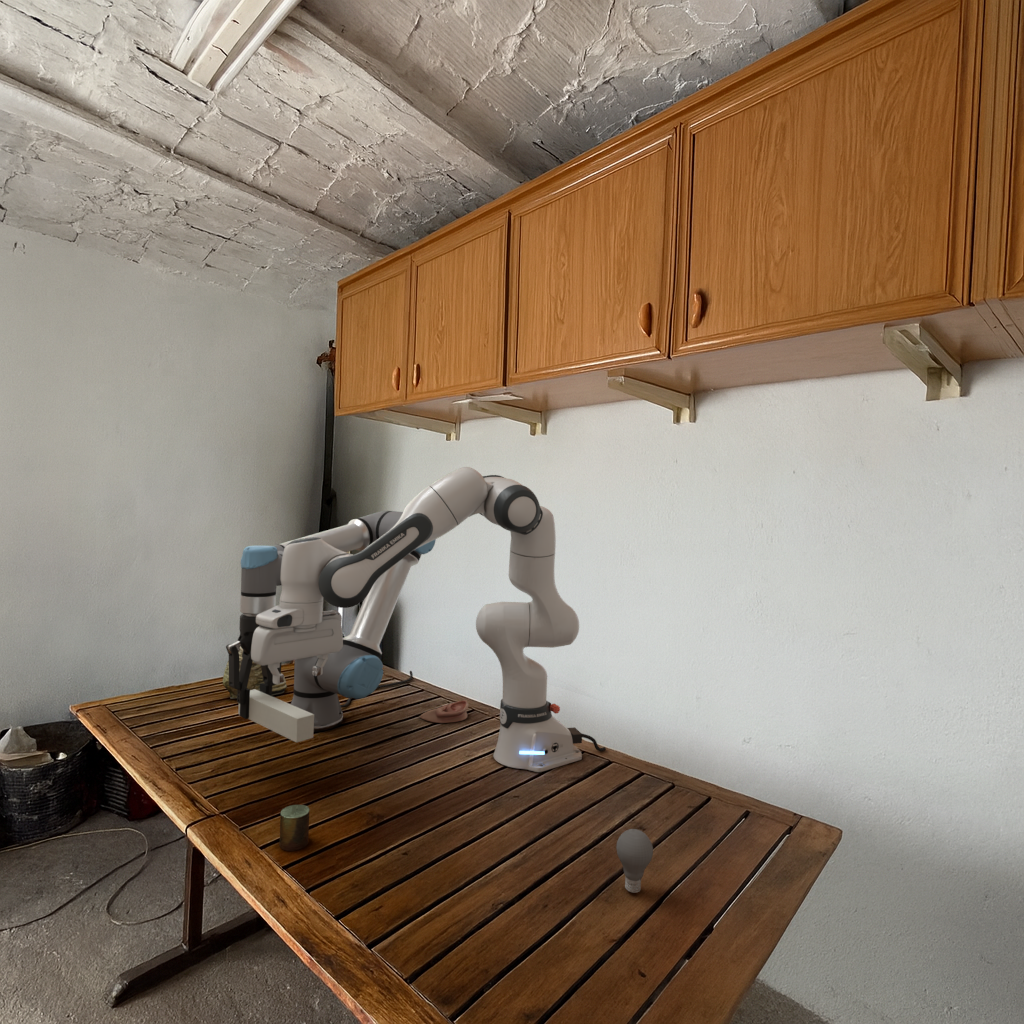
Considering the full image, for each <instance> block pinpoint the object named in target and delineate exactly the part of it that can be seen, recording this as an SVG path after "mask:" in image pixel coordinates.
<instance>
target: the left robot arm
mask: <svg viewBox="0 0 1024 1024" xmlns="http://www.w3.org/2000/svg"><path fill="white" fill-rule="evenodd" d="M402 513H403V511H397V510H396V511H395V510H383V511H377V512H374V513H370V514H368V515H364V516H360V517H357V518H354V519H350V521H348V523H347V524H344V525H341V526H338V527H334V528H330V529H328V530H323V531H320V532H316V533H313V534H309V535H306V536H303V537H299V538H296V539H292V540H288V541H285V542H282V543H278V544H274V545H247V546H245V547H244V549H243V550H242V555H241V558H240V570H241V572H240V573H241V577H240V603H239V606H240V607H239V611H240V613H241V614H240V615H239V629H238V630H239V635H238V638H237V641H235V642H233V643H232V644H231V643H227V644H226V646H225V649H226V651H227V654H228V660H229V686H230V687H232V688H234V689H237V698H236V703H237V704H238V705H239V704H240V715H239V717H241V718H243V719H245V720H249V719H248V718H249V701H250V689H247V685H248V680H249V676H250V671H251V667H252V662H253V660H252V659H251V646H252V638H253V634H254V631H255V629H256V628H257V627H259V626H260V625H258V624H256V616H257V615H258V614H260V613H262V612H264V611H267V610H269V609H271V608H273V607H275V606H277V600H276V599H277V587H280V586H282V584H281V580H280V576H281V563H282V556H283V551H284V548H285V547H286V546H287V544H288V543H290V542H291V541H294V540H298V539H302V538H310V537H311V538H312V537H319V538H321V539H322V540H323V541H325V542H326V543H328V544H329V545H331V546H333V547H334V548H336V549H339V550H341V551H344V552H346V553H349V552H352V551H355V550H356V551H359V552H361V551H362V550H364V549H365V548H367V547H368V546H369V545H371V544H372V543H373V542H375V541H376V540H377V539H379V538H380V537H381V536H383V535H384V534H386V533H387V532H388V531H389V530H390V529H392V528H393V527H394V526H395V524H396V523H397V522H398V520H399V519H400V517H401V515H402ZM436 541H437V539H435V540H433V541H431V542H429V543H427V544H425V545H423V546H421V547H419V548H417V549H415V550H413V551H412V552H411V553H409V554H408V555H407V556H405V557H404V558H403V559H401V560H400V561H399V562H398V563H396V564H395V565H394V566H392V567H391V568H390V569H388V570H387V571H386V572H385V573H383V574H382V575H381V576H380V577H379V578H378V579H377V580H376V581H375V583H374V585H373V586H372V588H371V590H370V592H369V593H368V595H367V596H366V598H365V599H364V600H363V601H362V603H361V606H360V609H359V610H358V613H357V616H356V618H355V620H354V623H353V625H352V627H351V630H350V631H349V634H348V635H346V636H343V647H342V649H341V650H340V651H339V652H335V653H330V654H328V659H327V661H326V663H325V665H324V667H323V674H322V675H319V676H315V675H313V674H312V671H313V670H312V667H314V666H316V664H317V661H318V659H319V658H317V656H313V657H307V658H302V659H296V660H294V670H293V671H294V672H293V695H292V696H293V697H292V699H291V702H290V704H291V705H293V706H296V707H298V708H300V709H303V710H305V711H307V712H310V713H312V714H314V732H313V733H316V732H325V731H329V730H332V729H335V728H337V727H339V726H340V725H342V723H343V722H344V714H343V709H342V708H346V707H348V706H349V705H350V703H351V700H352V699H355V700H360V699H365V698H367V697H368V696H369V695H372V694H373V693H374V692H375V691H376V690H377V689H383V688H388V687H393V686H398V685H402V684H406V683H409V682H410V681H411V680H413V677H414V673H413V671H412V670H409V678H406V679H405V680H404V679H403V680H400V681H396V682H395V681H394V682H391V683H385V684H381V682H382V679H383V676H384V669H383V668H384V663H383V661H382V660H381V658H382V654H383V652H382V649H381V647H380V645H381V642H382V640H383V638H384V635H385V633H386V630H387V628H388V625H389V622H390V620H391V619H392V618H391V617H392V615H393V612H394V611H395V608H396V604H397V602H398V600H399V597H400V595H401V592H402V590H403V588H404V585H405V582H406V581H407V577H408V575H409V573H410V570H411V567H413V566H416V565H418V564H419V562H420V559H421V557H422V555H426V554H429V553H430V552H432V551H433V549H434V547H435V544H436ZM240 647H241V648H242V649H243V653H242V663H241V667H240V672H239V653H238V652H239V651H240ZM282 664H283V662H280V667H279V668H277V669H278V671H279V673H280V674H281V673H282ZM261 670H262V676H263V681H264V683H260V692H263V693H265V694H268V695H270V696H272V697H273V695H272V685H274V683H273V675H272V673H271V671H270V670H269V668H268V665H261ZM339 695H340V696H342V697H345V698H347V701H346V703H344V704H343V703H342V704H341V702H340V699H339Z"/></svg>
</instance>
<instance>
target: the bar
mask: <svg viewBox="0 0 1024 1024" xmlns="http://www.w3.org/2000/svg"><path fill="white" fill-rule="evenodd" d="M237 710H238V711H237V714H238V715H239V716H240V704H239V703H238V709H237ZM247 720H249V721H251V722H253V723H255V724H257V725H259V726H262V727H264V728H266V729H268V730H270V731H272V732H274V733H276V734H278V735H280V736H282V737H284V738H286V739H288V740H290V741H292V742H294V743H299V742H300V743H301V742H303V741H307V740H310V739H314V733H315V732H314V714H312V713H310V712H307V711H305V710H303V709H300V708H298V707H296V706H293V705H291V703H289V702H286V701H284V700H283V699H282V700H281V699H279V698H277V697H275V696H273V695H272V696H270V695H268V694H265V693H263V692H260V691H258V690H256V689H254V690H250V701H249V718H248V719H247Z"/></svg>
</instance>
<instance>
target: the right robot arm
mask: <svg viewBox="0 0 1024 1024" xmlns="http://www.w3.org/2000/svg"><path fill="white" fill-rule="evenodd" d="M402 512H403V513H402V515H401V517H400V519H399V520H398V522H397V523H396V524H395V526H394V527H393V528H392V529H390V530H389V531H388V532H387V533H386V534H384V535H383V536H381V537H380V538H379V539H377V540H376V541H375V542H373V543H372V544H371V545H369V546H368V547H367V548H365V549H364V550H362V551H359V552H357V553H354V554H352V553H349V552H344V551H341V550H339V549H336V548H334V547H333V546H331V545H329V544H328V543H326V542H325V541H323V540H322V539H321V538H319V537H312V538H311V537H310V538H302V537H301V538H302V539H299V538H297V539H298V540H295V539H293V540H294V541H292V540H290V541H291V542H290V543H288V544H287V546H286V547H285V548H284V551H283V556H282V563H281V576H280V580H281V584H282V585H281V592H280V595H279V602H278V604H276V606H275V607H273V608H271V609H269V610H267V611H264V612H262V613H260V614H258V615H257V616H256V624H258V625H260V626H259V627H257V628H256V629H255V631H254V634H253V638H252V646H251V659H252V660H253V662H254V663H256V664H259V665H268V668H269V670H270V671H271V673H272V675H273V683H274V684H280V683H283V682H284V680H283V679H284V677H285V674H283V673H282V674H280V673H279V671H278V669H277V668H279V667H280V662H282V663H284V662H292V661H295V660H296V659H302V658H307V657H313V656H317V658H319V659H318V661H317V664H316V666H314V667H312V670H313V671H312V674H313V675H315V676H319V675H322V674H323V667H324V665H325V663H326V661H327V659H328V654H330V653H335V652H339V651H340V650H341V649H342V647H343V638H344V636H343V627H342V624H343V623H342V619H343V618H342V614H341V613H340V611H337V610H336V609H331V610H324V601H326V603H328V604H330V605H331V606H333V607H336V608H339V609H340V608H341V609H349V608H353V607H355V606H358V605H359V604H361V603H363V601H364V599H365V598H366V596H367V595H368V593H369V592H370V590H371V588H372V586H373V585H374V583H375V581H376V580H377V579H378V578H379V577H380V576H381V575H382V574H383V573H385V572H386V571H387V570H388V569H390V568H391V567H392V566H394V565H395V564H396V563H398V562H399V561H400V560H401V559H403V558H404V557H405V556H407V555H408V554H409V553H411V552H412V551H413V550H415V549H417V548H419V547H421V546H423V545H425V544H427V543H429V542H431V541H433V540H435V539H436V540H437V539H439V538H441V537H443V536H444V535H446V534H447V533H449V532H451V531H453V530H454V529H455V528H456V527H458V526H459V525H460V524H462V523H463V522H465V521H466V520H467V519H468V518H471V517H472V516H474V515H477V514H479V515H480V516H481V517H484V518H485V519H486V520H488V521H489V522H490V523H492V524H494V525H496V526H499V527H500V528H502V529H503V530H506V531H508V532H510V545H509V561H508V562H509V563H508V579H509V581H510V583H511V585H512V586H513V587H515V589H517V590H518V591H521V592H523V593H524V594H526V595H528V596H529V597H530V598H531V601H528V602H522V601H498V602H492V603H487V604H484V605H482V607H481V608H480V610H479V611H478V613H477V616H476V619H475V629H476V633H477V635H478V637H479V639H480V640H481V641H482V642H483V643H484V644H485V645H487V646H488V647H489V648H490V649H491V651H493V653H494V654H495V657H496V658H497V660H498V662H499V665H500V669H501V675H502V677H501V678H502V698H501V700H500V706H499V724H500V725H499V731H498V737H497V741H496V744H495V745H496V746H495V749H494V751H493V754H492V757H493V759H494V760H495V762H496V763H499V764H501V765H502V766H505V767H509V768H513V769H518V770H519V769H521V770H526V771H527V770H528V771H531V772H533V773H542V772H546V771H549V770H552V769H556V768H559V767H562V766H566V765H568V764H571V763H575V762H578V761H581V760H582V759H583V753H582V752H581V750H580V749H579V747H577V746H576V745H578V744H583V738H585V739H587V740H589V741H590V742H592V744H593V746H594V748H595V750H596V751H598V752H601V753H603V752H606V751H607V748H606V747H605V746H604V747H600V746H599V745H598V742H597V740H596V739H595V738H594V737H592V736H591V735H588V734H585V733H582V732H581V731H579V730H578V729H577V728H576V727H566V725H564V724H563V723H562V722H561V721H560V720H559V719H557V718H556V717H554V716H553V714H552V712H553V713H554V714H559V713H560V711H561V707H560V706H559V705H558V704H556V703H552V702H550V701H548V700H547V697H548V673H547V670H546V669H545V667H544V666H543V665H542V664H541V663H539V662H538V661H537V660H535V659H532V658H530V657H529V656H527V655H526V653H524V649H525V648H549V649H550V648H559V647H565V646H569V645H570V646H571V645H572V644H573V643H574V642H575V640H576V639H577V637H578V635H579V632H580V620H579V616H578V614H577V613H576V611H575V609H574V608H573V607H571V606H570V605H569V604H568V603H567V602H566V601H565V600H564V599H563V598H562V597H561V595H560V593H559V591H558V588H557V585H556V580H555V562H556V548H557V545H556V544H557V543H556V542H557V540H556V539H557V538H556V537H557V536H556V534H557V533H556V524H555V518H554V514H553V512H552V511H551V510H550V509H548V508H546V507H545V506H542V505H541V504H540V502H539V499H538V497H537V496H536V494H535V493H534V491H532V489H530V488H529V487H528V486H525V485H523V484H522V483H520V482H518V481H517V480H515V479H512V478H506V477H504V476H502V475H499V474H489V475H482V474H481V473H480V472H479V471H478V470H476V469H475V468H472V467H470V466H462V467H459V468H458V469H455V470H453V471H451V472H449V473H447V474H445V475H443V476H441V477H440V478H438V479H436V480H435V481H433V482H432V483H430V484H429V485H427V486H426V487H424V488H423V489H422V490H421V491H420V492H418V493H417V494H416V495H415V496H414V497H413V498H412V499H411V500H410V501H409V502H408V503H407V504H406V505H405V507H404V509H403V511H402ZM575 744H576V745H575Z"/></svg>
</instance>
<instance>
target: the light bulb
mask: <svg viewBox="0 0 1024 1024" xmlns="http://www.w3.org/2000/svg"><path fill="white" fill-rule="evenodd" d="M615 849H616V854H617V857H618V859H619V861H620V863H621V865H622V867H623V873H624V874H623V875H624V876H625V878H624V888H625V890H627V891H628V892H630V893H634V894H635V893H639V892H640V891H641V889H642V887H641V886H642V879H643V877H644V875H645V871H646V868H647V867H648V866H649V864H650V863H651V861H652V859H653V855H654V847H653V843H652V841H651V838H649V836H648V835H647V834H646V833H645V832H643V831H642V830H641V829H636V828H629V829H627V830H625V831H623V832H622V833H621V834H620V835H619V837H618V839H617V841H616V847H615Z"/></svg>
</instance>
